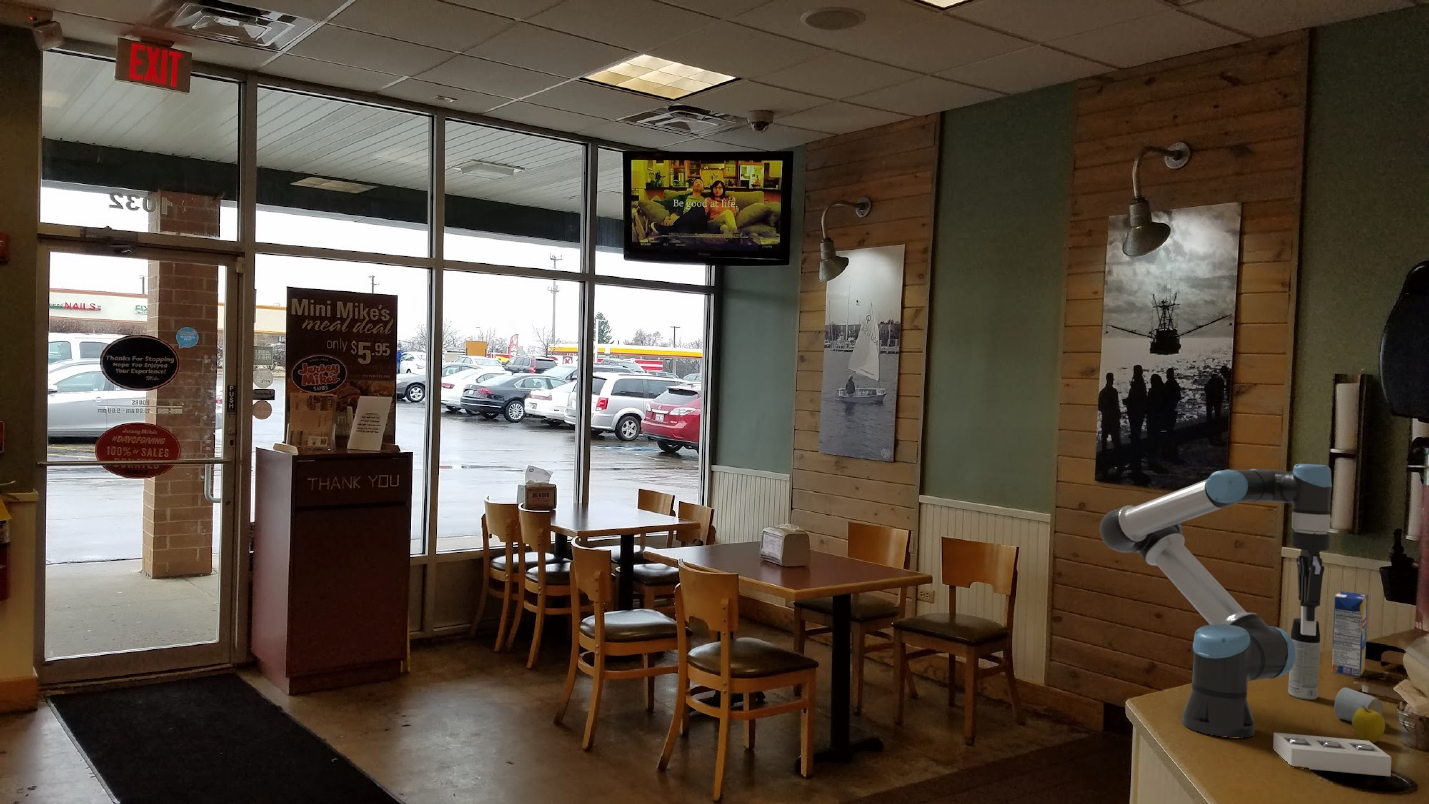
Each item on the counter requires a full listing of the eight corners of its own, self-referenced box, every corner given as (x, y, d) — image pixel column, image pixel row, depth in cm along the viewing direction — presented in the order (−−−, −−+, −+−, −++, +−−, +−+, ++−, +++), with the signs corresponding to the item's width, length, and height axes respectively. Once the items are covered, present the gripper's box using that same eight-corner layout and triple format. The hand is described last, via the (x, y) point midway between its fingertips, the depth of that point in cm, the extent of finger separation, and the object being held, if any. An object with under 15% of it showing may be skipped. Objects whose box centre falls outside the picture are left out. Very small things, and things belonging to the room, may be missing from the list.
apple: (1348, 734, 232) (1349, 700, 231) (1380, 739, 229) (1382, 704, 229) (1354, 743, 226) (1355, 708, 226) (1387, 748, 223) (1389, 712, 223)
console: (1291, 767, 209) (1291, 748, 209) (1273, 750, 219) (1273, 732, 219) (1390, 776, 206) (1391, 757, 206) (1367, 759, 216) (1368, 740, 216)
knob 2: (1358, 767, 210) (1358, 747, 210) (1350, 760, 213) (1351, 741, 213) (1376, 768, 209) (1377, 749, 209) (1368, 762, 213) (1369, 743, 213)
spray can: (1318, 695, 262) (1321, 620, 262) (1317, 702, 256) (1320, 625, 256) (1288, 691, 266) (1291, 616, 265) (1287, 697, 260) (1290, 621, 260)
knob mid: (1324, 764, 211) (1325, 744, 211) (1317, 757, 214) (1318, 738, 214) (1343, 765, 210) (1343, 746, 210) (1335, 759, 214) (1336, 740, 214)
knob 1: (1291, 761, 212) (1292, 741, 212) (1284, 755, 216) (1285, 736, 216) (1309, 762, 211) (1310, 743, 211) (1302, 756, 215) (1303, 737, 215)
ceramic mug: (1369, 730, 235) (1370, 698, 235) (1332, 720, 242) (1334, 688, 242) (1391, 724, 241) (1392, 693, 240) (1354, 714, 247) (1356, 684, 247)
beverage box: (1331, 672, 286) (1334, 596, 286) (1337, 664, 295) (1340, 591, 294) (1359, 677, 282) (1362, 600, 282) (1364, 669, 290) (1367, 594, 290)
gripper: (1338, 536, 220) (1335, 642, 220) (1321, 529, 233) (1318, 629, 233) (1300, 533, 222) (1297, 639, 222) (1285, 527, 235) (1282, 627, 235)
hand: (1308, 634), depth 228 cm, fingers closed
